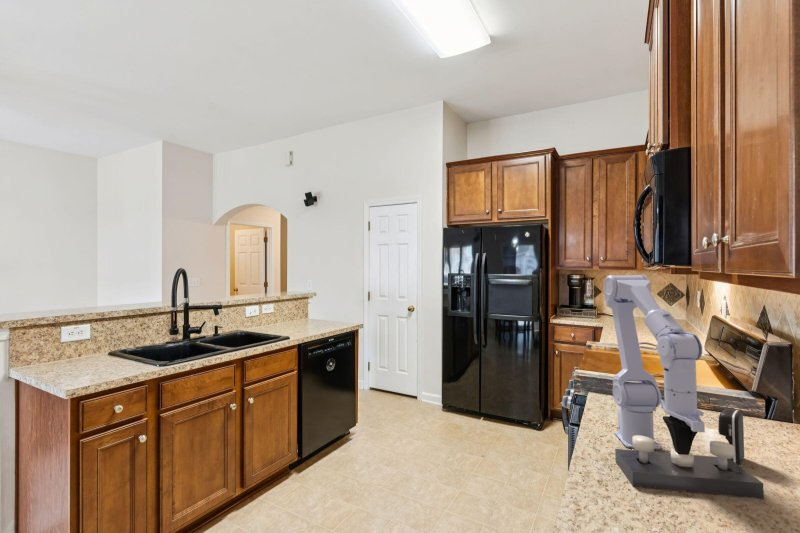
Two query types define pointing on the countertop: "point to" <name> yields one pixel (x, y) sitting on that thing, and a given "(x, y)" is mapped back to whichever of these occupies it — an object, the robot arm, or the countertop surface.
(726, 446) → the knob
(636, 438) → the knob
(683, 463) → the knob mid
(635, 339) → the robot arm
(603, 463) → the countertop surface
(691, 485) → the mount plate
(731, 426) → the battery charger
